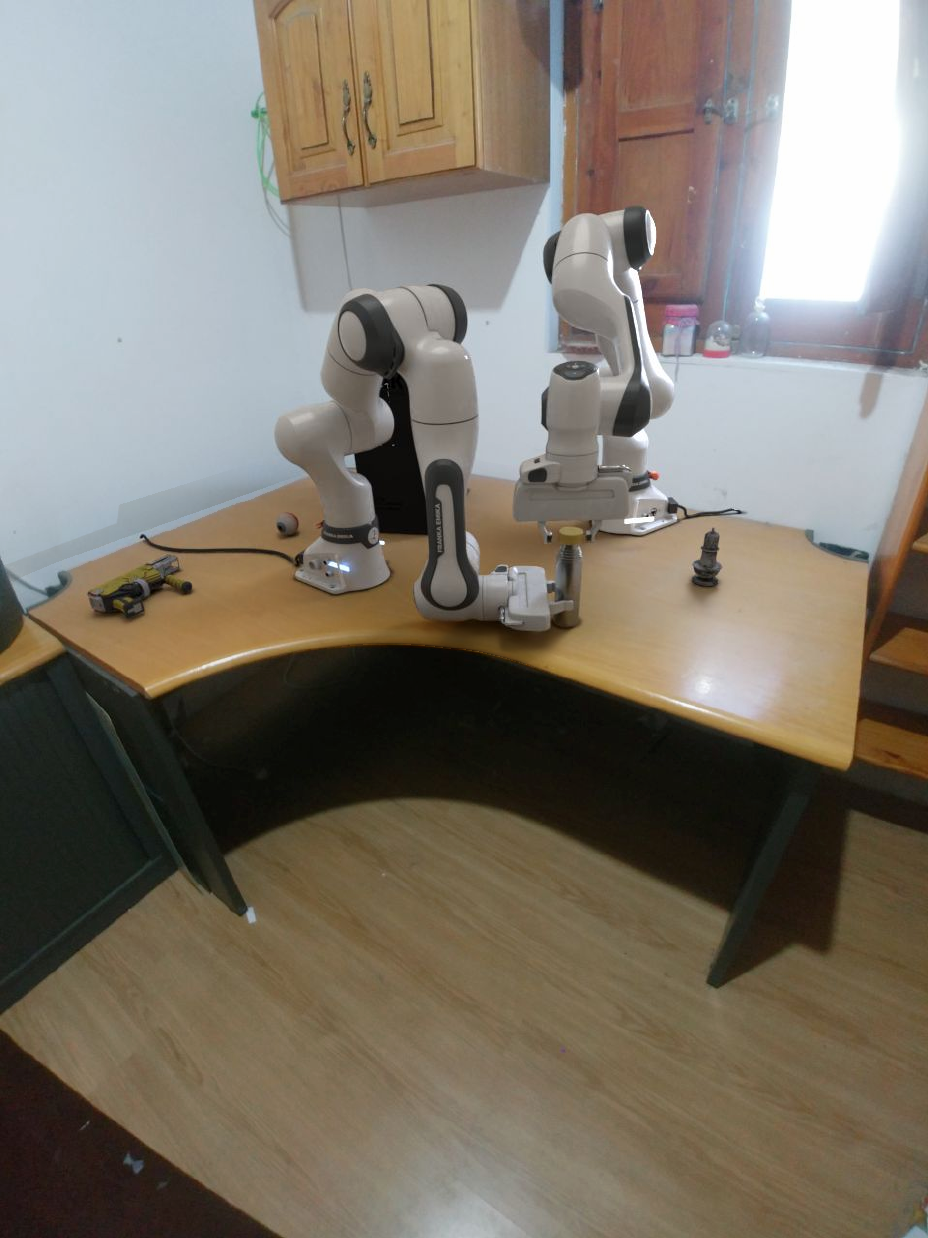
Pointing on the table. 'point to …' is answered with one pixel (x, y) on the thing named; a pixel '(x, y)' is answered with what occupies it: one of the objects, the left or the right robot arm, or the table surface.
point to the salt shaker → (708, 561)
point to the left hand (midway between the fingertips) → (571, 596)
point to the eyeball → (287, 523)
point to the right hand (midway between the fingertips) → (568, 542)
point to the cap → (570, 535)
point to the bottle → (568, 583)
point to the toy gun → (136, 587)
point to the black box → (396, 468)
